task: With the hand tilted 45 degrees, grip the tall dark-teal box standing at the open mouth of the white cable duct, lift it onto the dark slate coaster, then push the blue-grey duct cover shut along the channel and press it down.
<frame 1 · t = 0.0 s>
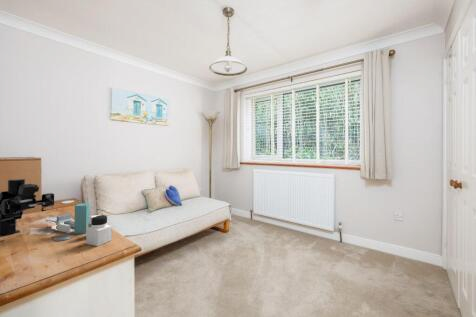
hand: (42, 204, 98), 17 cm above the table, tool horizontal, fingers open, 9 cm apart
cover: (59, 217, 116), point 5 cm above the table, slide at 7.0 cm
coaster: (63, 238, 102), on the table
teal box: (82, 231, 111), on the table
supplement bottle: (94, 235, 107), on the table
medicine bottle: (99, 242, 99), on the table
duct: (66, 228, 115), on the table
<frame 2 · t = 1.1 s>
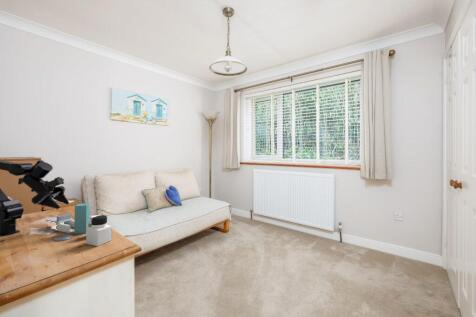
hand: (63, 205, 108), 14 cm above the table, tool tilted 45°, fingers open, 9 cm apart
nothing on the table moved.
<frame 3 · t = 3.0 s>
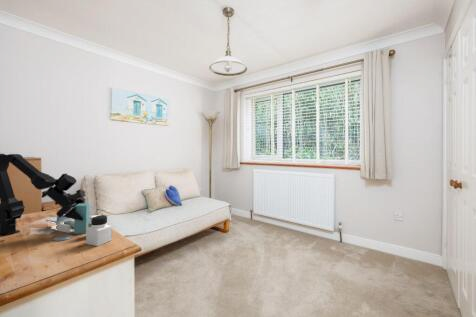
hand: (85, 217, 111), 7 cm above the table, tool tilted 45°, fingers open, 7 cm apart
teal box: (82, 231, 111), on the table, touching gripper
everything else where it was.
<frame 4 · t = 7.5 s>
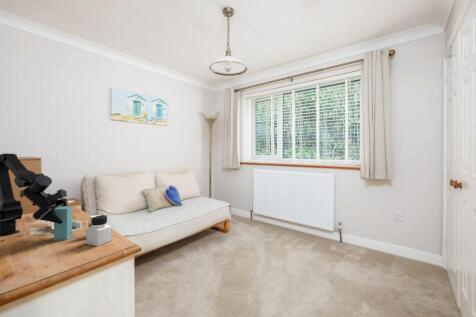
hand: (66, 220, 103), 9 cm above the table, tool tilted 45°, fingers open, 9 cm apart
teal box: (63, 237, 103), resting on coaster
everything else where it was.
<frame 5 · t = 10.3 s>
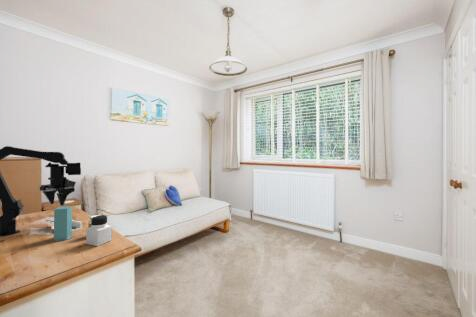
hand: (57, 204, 117), 12 cm above the table, tool pointing down, fingers open, 8 cm apart
nothing on the table moved.
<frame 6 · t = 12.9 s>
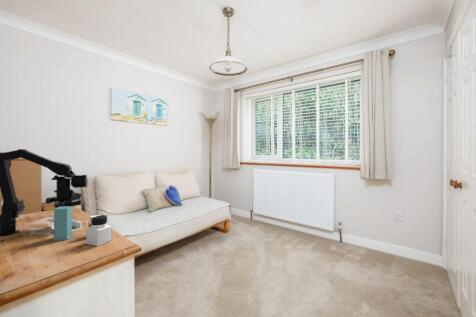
hand: (63, 217, 116), 6 cm above the table, tool pointing down, fingers closed
cover: (60, 217, 116), point 5 cm above the table, slide at 6.0 cm, touching gripper
everything else where it was.
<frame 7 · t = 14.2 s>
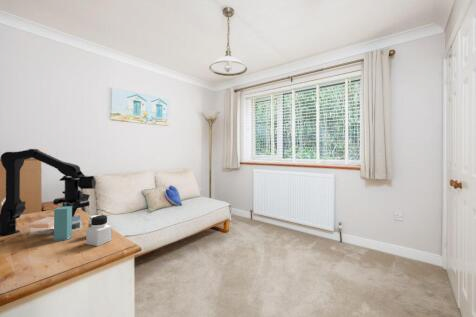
hand: (71, 218, 114), 6 cm above the table, tool pointing down, fingers closed
cover: (68, 219, 114), point 5 cm above the table, slide at 0.0 cm, touching gripper
everything else where it was.
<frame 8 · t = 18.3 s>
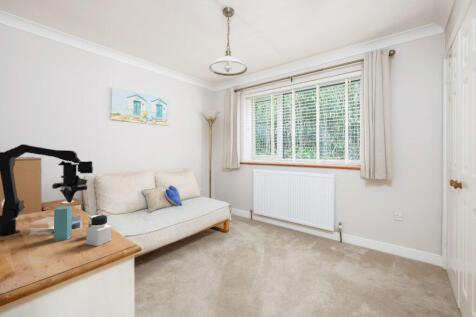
hand: (69, 202, 118), 13 cm above the table, tool pointing down, fingers closed
cover: (68, 219, 114), point 5 cm above the table, slide at 0.0 cm
everything else where it was.
at the end: teal box 0.2 cm from the coaster (horizontally); teal box tilted 0°; cover slide at 0.0 cm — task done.
